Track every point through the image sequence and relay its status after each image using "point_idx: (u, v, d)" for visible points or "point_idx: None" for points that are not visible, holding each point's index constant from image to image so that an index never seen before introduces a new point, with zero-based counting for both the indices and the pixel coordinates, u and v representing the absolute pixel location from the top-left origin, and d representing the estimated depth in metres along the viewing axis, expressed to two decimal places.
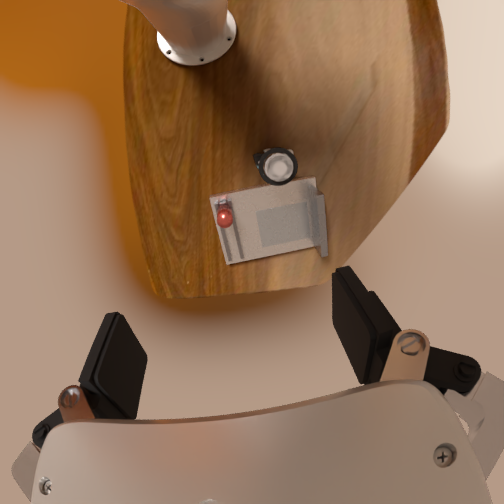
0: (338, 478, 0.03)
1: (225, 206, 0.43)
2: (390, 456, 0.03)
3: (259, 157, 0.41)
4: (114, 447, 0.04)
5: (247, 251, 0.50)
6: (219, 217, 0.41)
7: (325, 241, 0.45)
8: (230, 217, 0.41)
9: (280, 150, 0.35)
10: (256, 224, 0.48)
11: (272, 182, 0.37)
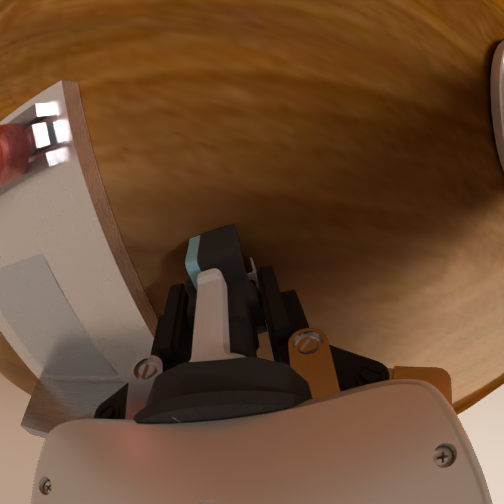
0: (338, 478, 0.03)
1: (18, 153, 0.06)
2: (390, 456, 0.03)
3: (233, 268, 0.10)
4: (114, 447, 0.04)
5: None
6: None
7: None
8: None
9: None
10: (15, 256, 0.10)
11: None
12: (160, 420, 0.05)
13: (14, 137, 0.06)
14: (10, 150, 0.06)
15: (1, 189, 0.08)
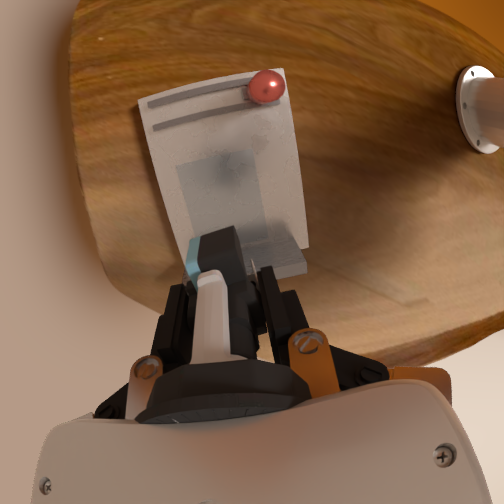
0: (338, 478, 0.03)
1: None
2: (390, 456, 0.03)
3: (234, 269, 0.10)
4: (114, 447, 0.04)
5: (165, 137, 0.22)
6: (276, 75, 0.16)
7: None
8: (275, 97, 0.17)
9: None
10: (226, 150, 0.23)
11: None
12: (161, 422, 0.05)
13: None
14: None
15: (241, 107, 0.21)
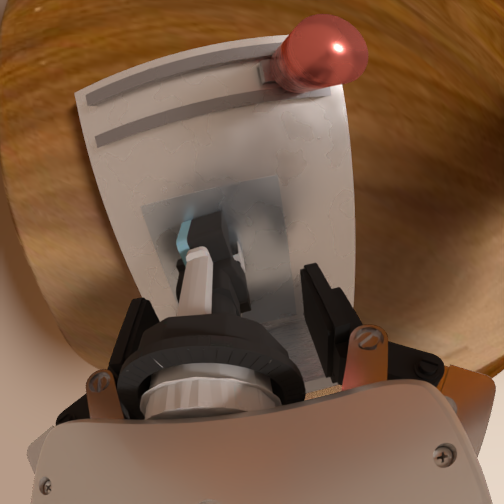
0: (338, 478, 0.03)
1: None
2: (390, 456, 0.03)
3: (219, 247, 0.12)
4: (114, 447, 0.04)
5: (121, 156, 0.12)
6: (348, 29, 0.06)
7: None
8: (347, 75, 0.06)
9: None
10: (229, 177, 0.13)
11: (129, 389, 0.06)
12: (143, 364, 0.06)
13: None
14: None
15: (258, 98, 0.11)
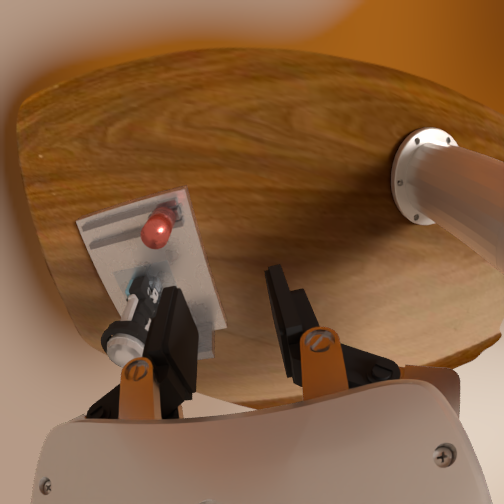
0: (338, 478, 0.03)
1: (174, 222, 0.25)
2: (390, 456, 0.03)
3: (141, 294, 0.27)
4: (114, 447, 0.04)
5: (101, 251, 0.27)
6: (159, 227, 0.21)
7: None
8: (161, 245, 0.22)
9: None
10: (147, 261, 0.28)
11: (104, 342, 0.22)
12: (107, 333, 0.21)
13: (172, 216, 0.24)
14: (173, 222, 0.24)
15: None
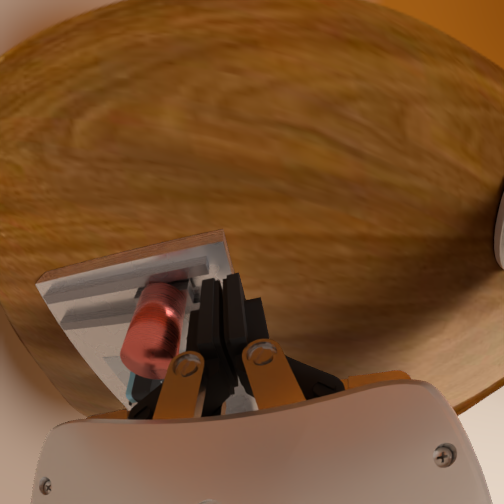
0: (338, 478, 0.03)
1: None
2: (390, 456, 0.03)
3: None
4: (114, 447, 0.04)
5: (81, 330, 0.16)
6: (156, 350, 0.10)
7: None
8: (164, 375, 0.10)
9: None
10: None
11: None
12: None
13: (180, 304, 0.13)
14: (183, 317, 0.12)
15: None
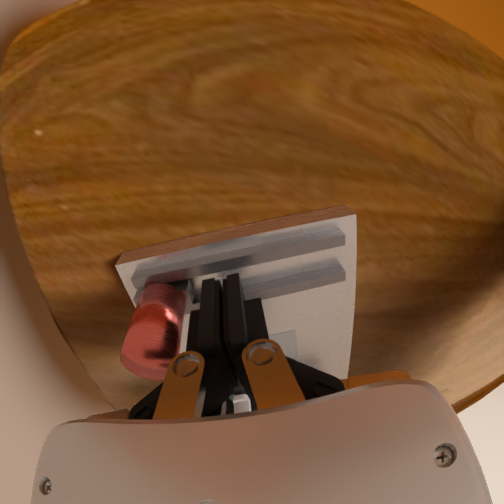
0: (338, 478, 0.03)
1: (183, 314, 0.13)
2: (390, 456, 0.03)
3: None
4: (114, 447, 0.04)
5: None
6: (157, 350, 0.09)
7: None
8: (164, 375, 0.10)
9: None
10: None
11: None
12: None
13: (180, 305, 0.12)
14: (182, 318, 0.12)
15: (286, 291, 0.14)
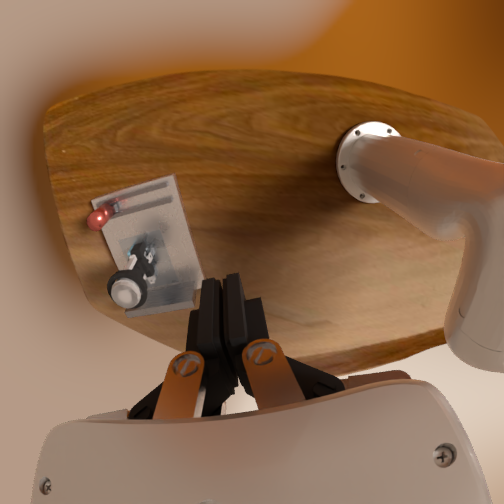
0: (338, 478, 0.03)
1: (111, 214, 0.33)
2: (390, 456, 0.03)
3: (139, 254, 0.36)
4: (114, 447, 0.04)
5: (110, 223, 0.36)
6: (97, 216, 0.30)
7: (142, 314, 0.38)
8: (99, 228, 0.31)
9: (144, 293, 0.31)
10: (144, 231, 0.37)
11: (109, 286, 0.31)
12: (112, 278, 0.30)
13: (110, 209, 0.33)
14: (110, 213, 0.33)
15: (148, 207, 0.35)
